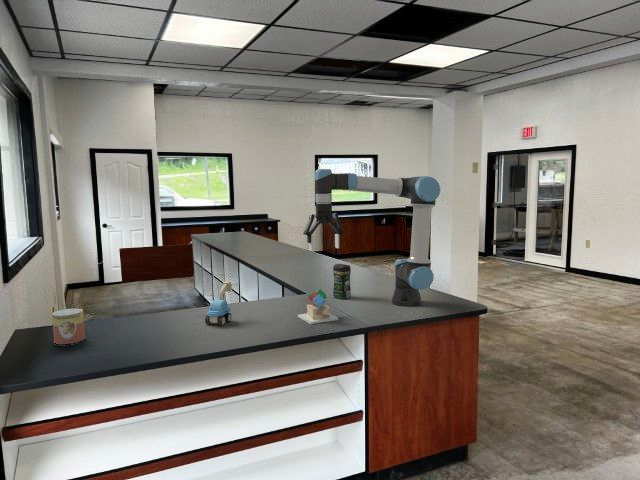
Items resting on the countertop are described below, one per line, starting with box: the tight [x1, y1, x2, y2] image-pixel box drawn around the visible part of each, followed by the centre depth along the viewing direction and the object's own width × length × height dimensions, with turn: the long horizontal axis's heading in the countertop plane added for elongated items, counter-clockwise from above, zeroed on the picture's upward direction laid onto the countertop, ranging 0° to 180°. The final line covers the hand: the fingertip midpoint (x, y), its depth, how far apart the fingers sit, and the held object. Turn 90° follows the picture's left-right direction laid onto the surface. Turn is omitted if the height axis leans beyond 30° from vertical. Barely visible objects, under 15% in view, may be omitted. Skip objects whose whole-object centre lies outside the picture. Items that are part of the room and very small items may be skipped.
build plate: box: [297, 312, 339, 325], centre depth 221 cm, size 14×14×1 cm
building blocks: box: [307, 288, 327, 308], centre depth 221 cm, size 8×8×12 cm
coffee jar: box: [332, 263, 352, 300], centre depth 260 cm, size 10×8×19 cm
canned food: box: [51, 307, 86, 345], centre depth 193 cm, size 11×11×12 cm
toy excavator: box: [204, 281, 233, 326], centre depth 218 cm, size 9×17×17 cm, turn 161°
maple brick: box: [306, 303, 331, 320], centre depth 221 cm, size 8×8×5 cm
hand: (324, 249), depth 222 cm, fingers open, 13 cm apart
